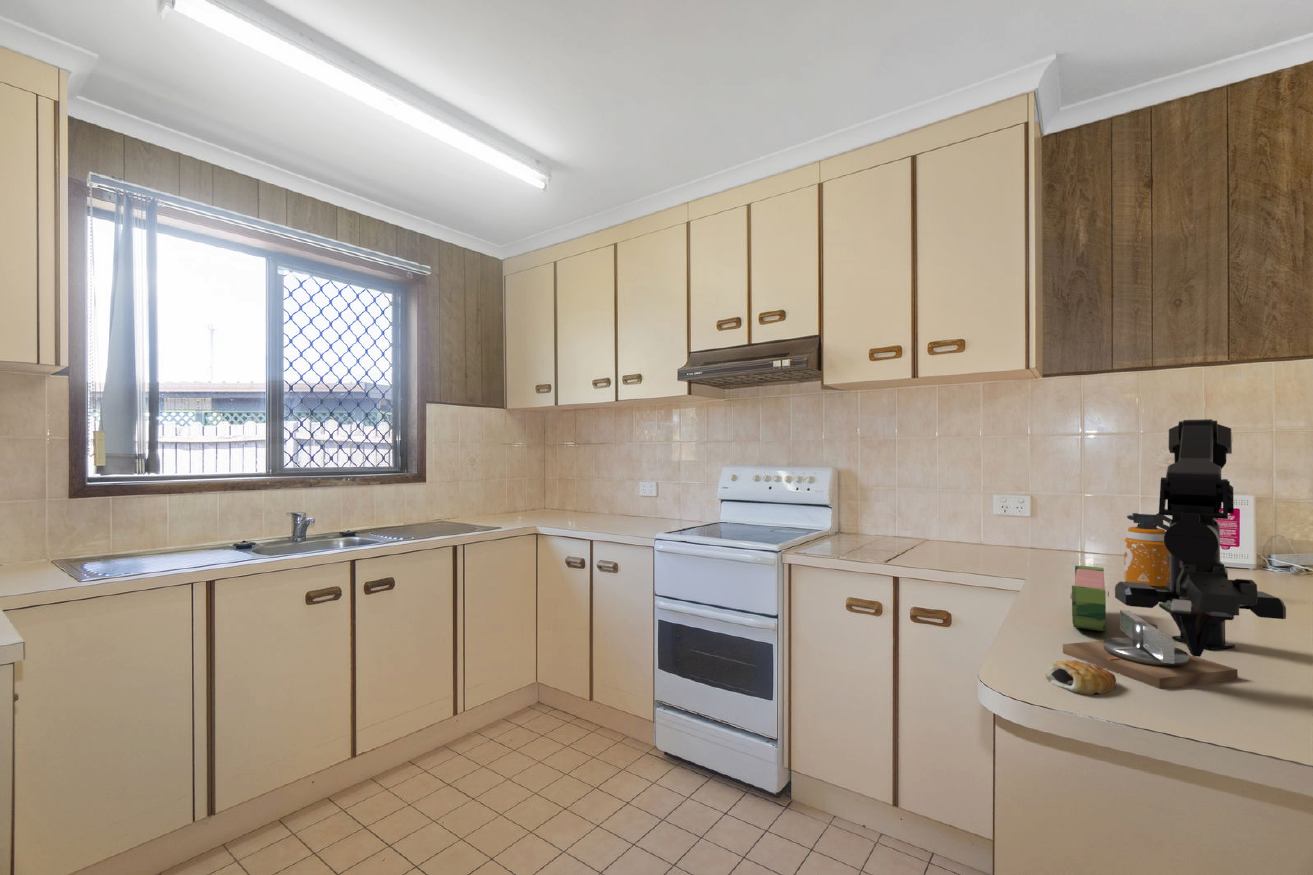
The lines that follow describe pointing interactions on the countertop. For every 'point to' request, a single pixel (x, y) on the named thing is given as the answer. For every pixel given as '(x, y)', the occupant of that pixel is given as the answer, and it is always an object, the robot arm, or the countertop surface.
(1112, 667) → the dial board
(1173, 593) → the robot arm
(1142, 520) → the canister
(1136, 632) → the silver metal stand
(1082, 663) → the pastry
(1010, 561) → the countertop surface
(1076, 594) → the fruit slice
